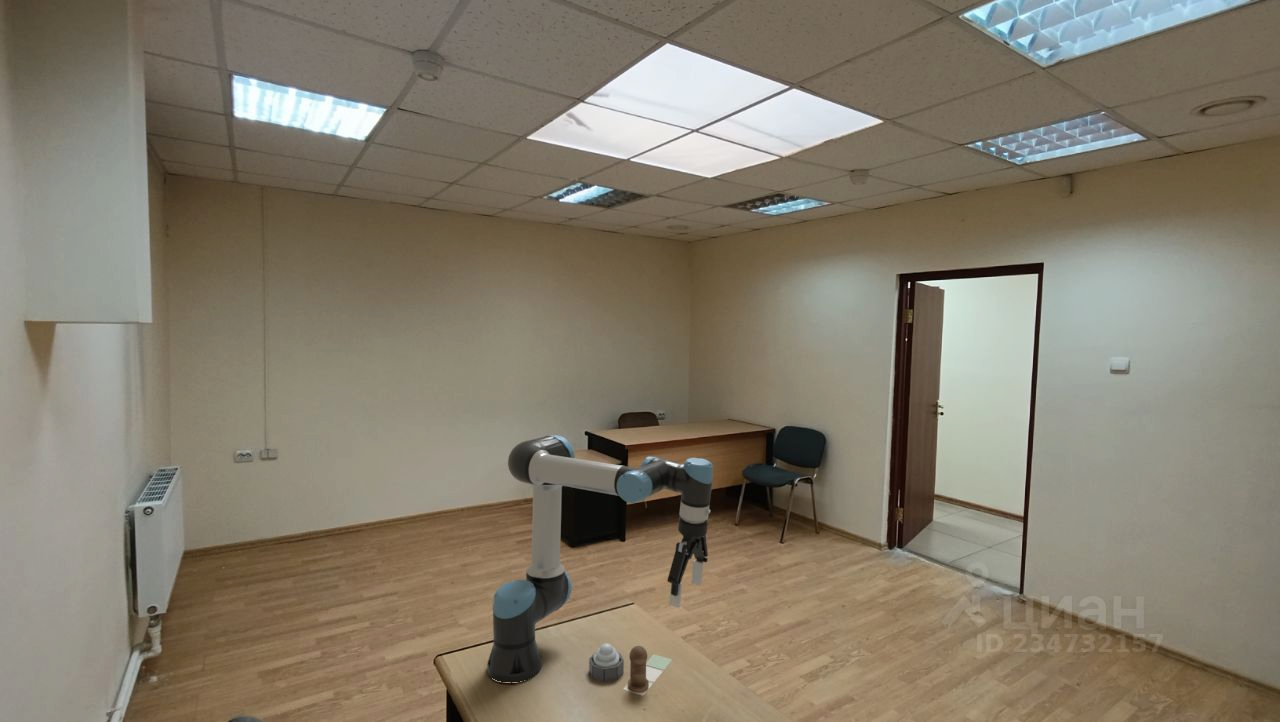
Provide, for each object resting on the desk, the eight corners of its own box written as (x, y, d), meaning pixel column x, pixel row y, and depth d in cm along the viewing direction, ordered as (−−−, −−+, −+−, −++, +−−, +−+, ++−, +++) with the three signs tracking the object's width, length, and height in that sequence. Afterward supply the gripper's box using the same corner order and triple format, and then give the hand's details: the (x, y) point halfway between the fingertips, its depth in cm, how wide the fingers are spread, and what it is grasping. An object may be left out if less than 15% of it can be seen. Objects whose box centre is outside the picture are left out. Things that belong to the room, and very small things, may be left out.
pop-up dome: (588, 666, 159) (588, 647, 158) (601, 654, 165) (601, 635, 165) (611, 673, 155) (611, 653, 155) (623, 660, 162) (623, 641, 162)
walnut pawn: (624, 688, 152) (624, 649, 152) (633, 677, 157) (633, 639, 157) (642, 695, 150) (643, 654, 149) (652, 683, 155) (652, 644, 154)
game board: (617, 692, 152) (617, 688, 152) (649, 655, 170) (649, 652, 170) (647, 702, 148) (647, 698, 148) (677, 663, 166) (677, 660, 166)
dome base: (584, 679, 158) (584, 663, 158) (600, 662, 166) (600, 647, 166) (612, 688, 154) (612, 671, 154) (628, 671, 162) (628, 655, 162)
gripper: (686, 538, 137) (678, 620, 140) (724, 508, 159) (716, 580, 161) (658, 529, 141) (651, 610, 143) (699, 501, 162) (692, 571, 165)
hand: (685, 594), depth 152 cm, fingers open, 13 cm apart
